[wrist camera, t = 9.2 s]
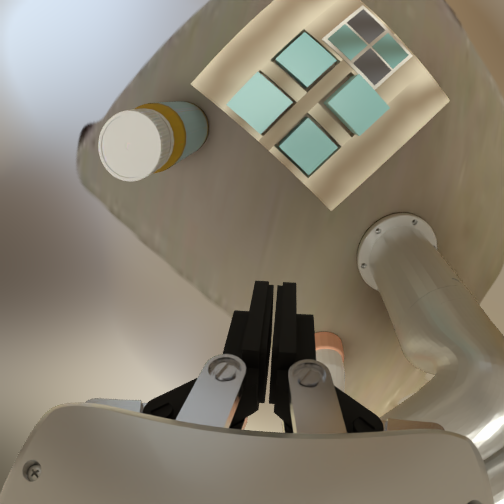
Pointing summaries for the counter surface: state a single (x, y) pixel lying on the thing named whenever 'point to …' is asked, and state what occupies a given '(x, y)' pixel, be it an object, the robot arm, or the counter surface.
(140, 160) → the bottle
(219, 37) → the counter surface
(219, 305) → the counter surface
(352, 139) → the button board
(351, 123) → the button
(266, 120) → the button
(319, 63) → the button
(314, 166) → the button
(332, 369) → the salt shaker
